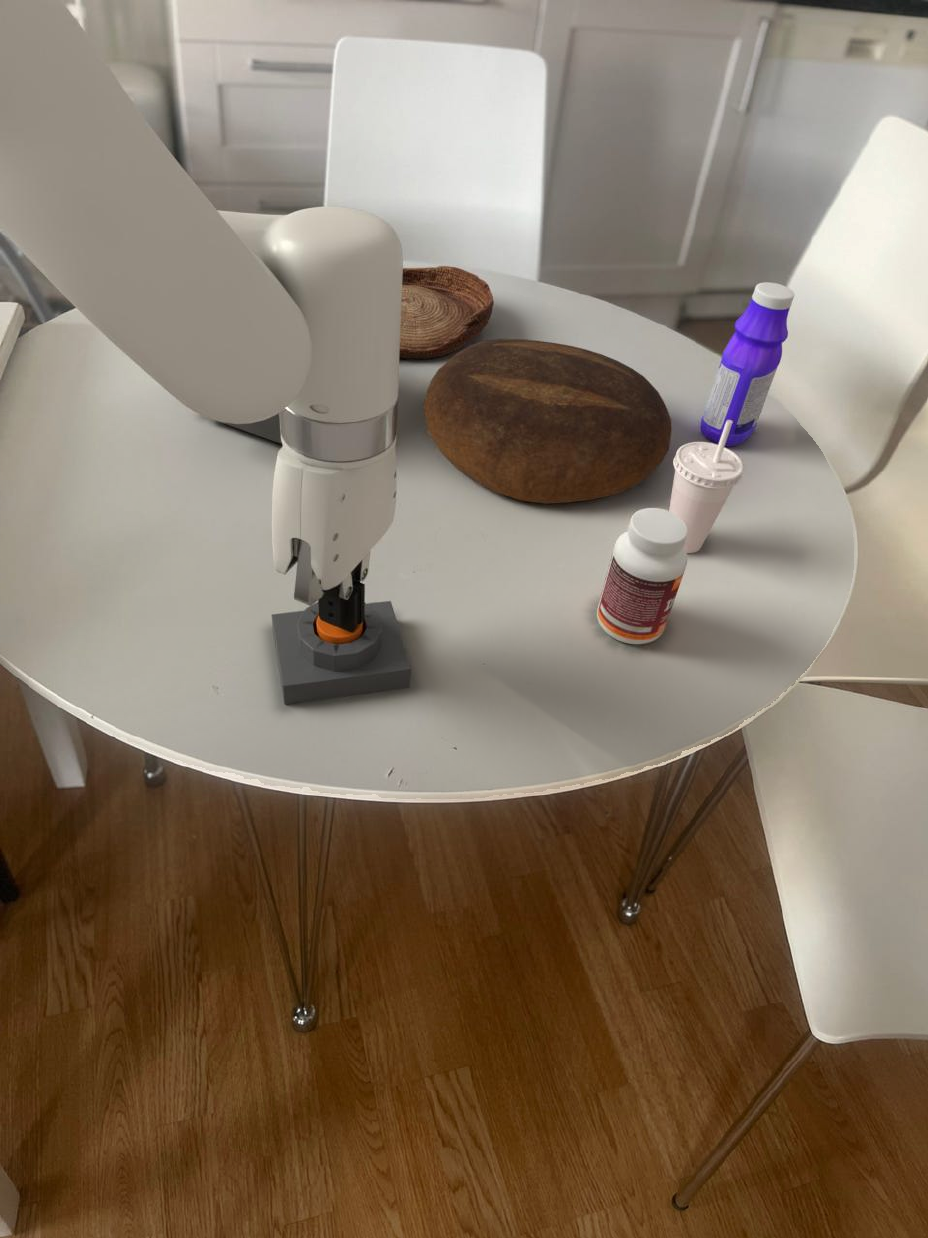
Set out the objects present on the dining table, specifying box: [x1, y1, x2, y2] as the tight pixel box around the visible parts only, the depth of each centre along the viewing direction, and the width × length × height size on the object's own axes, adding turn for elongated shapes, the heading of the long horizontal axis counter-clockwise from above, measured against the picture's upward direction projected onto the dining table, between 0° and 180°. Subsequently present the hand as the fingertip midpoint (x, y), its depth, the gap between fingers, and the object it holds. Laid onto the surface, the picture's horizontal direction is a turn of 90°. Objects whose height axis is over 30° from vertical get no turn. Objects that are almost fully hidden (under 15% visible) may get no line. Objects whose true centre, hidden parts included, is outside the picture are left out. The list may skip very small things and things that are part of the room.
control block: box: [271, 600, 412, 705], centre depth 71 cm, size 10×8×4 cm
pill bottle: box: [596, 507, 688, 645], centre depth 75 cm, size 6×6×11 cm
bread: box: [423, 338, 673, 504], centre depth 97 cm, size 28×27×9 cm
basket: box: [399, 265, 495, 360], centre depth 115 cm, size 22×20×5 cm
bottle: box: [700, 281, 795, 447], centre depth 98 cm, size 7×6×17 cm
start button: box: [317, 616, 363, 645], centre depth 70 cm, size 4×4×2 cm
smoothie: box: [668, 420, 745, 554], centre depth 84 cm, size 6×6×14 cm
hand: (341, 620), depth 70 cm, fingers closed
